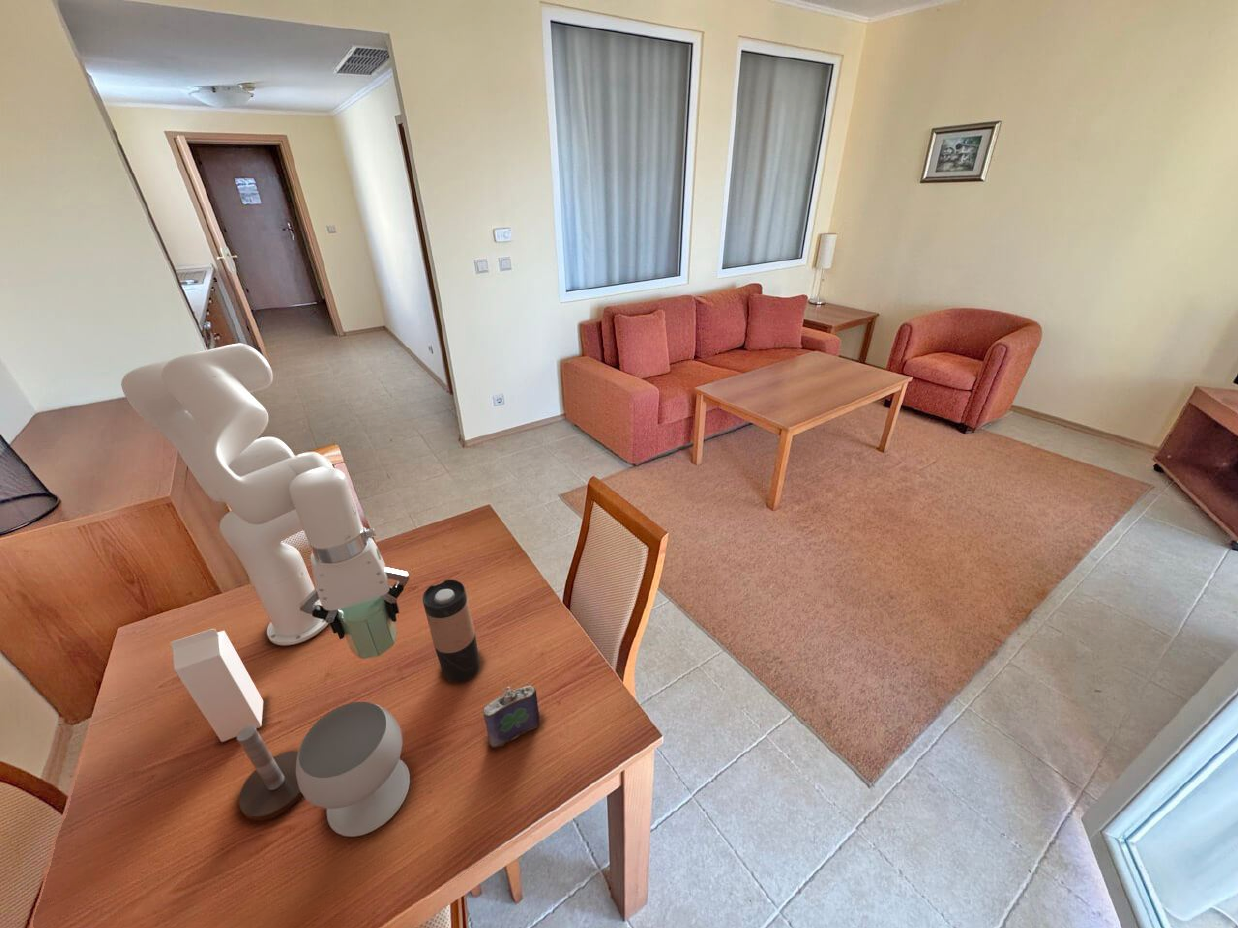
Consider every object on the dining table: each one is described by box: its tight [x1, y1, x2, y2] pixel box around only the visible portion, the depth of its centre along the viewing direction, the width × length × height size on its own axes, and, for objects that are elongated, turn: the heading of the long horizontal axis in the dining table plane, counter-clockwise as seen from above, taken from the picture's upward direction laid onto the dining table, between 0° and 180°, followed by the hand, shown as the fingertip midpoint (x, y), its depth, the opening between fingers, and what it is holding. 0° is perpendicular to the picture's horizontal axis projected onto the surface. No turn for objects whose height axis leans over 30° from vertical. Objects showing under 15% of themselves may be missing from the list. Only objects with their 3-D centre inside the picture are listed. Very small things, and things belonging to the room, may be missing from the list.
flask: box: [482, 685, 541, 748], centre depth 85 cm, size 9×3×11 cm, turn 121°
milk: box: [169, 628, 264, 743], centre depth 85 cm, size 6×6×22 cm
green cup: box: [338, 597, 398, 660], centre depth 86 cm, size 7×7×9 cm
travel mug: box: [422, 579, 480, 683], centre depth 95 cm, size 8×8×20 cm
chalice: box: [296, 701, 411, 838], centre depth 75 cm, size 14×14×15 cm
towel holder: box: [236, 726, 304, 821], centre depth 77 cm, size 10×10×14 cm
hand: (368, 624), depth 86 cm, fingers closed on green cup, 7 cm apart
